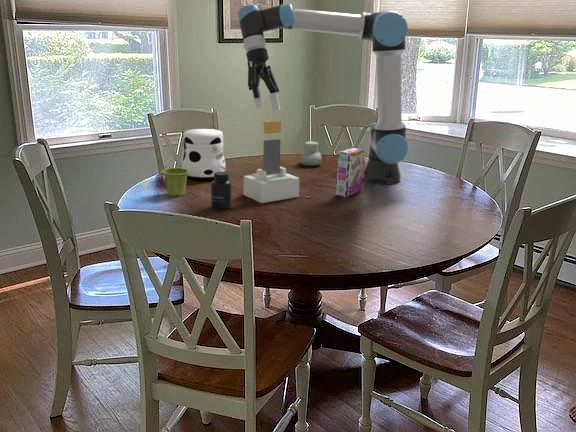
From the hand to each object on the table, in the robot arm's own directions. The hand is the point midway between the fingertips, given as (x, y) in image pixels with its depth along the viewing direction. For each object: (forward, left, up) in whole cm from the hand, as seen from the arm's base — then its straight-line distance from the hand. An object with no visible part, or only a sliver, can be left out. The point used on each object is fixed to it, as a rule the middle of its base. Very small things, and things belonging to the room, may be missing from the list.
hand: (268, 109), depth 210 cm
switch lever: (-4, +3, -22) cm, 22 cm away
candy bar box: (-26, -16, -31) cm, 43 cm away
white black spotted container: (+33, -5, -31) cm, 46 cm away
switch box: (-4, +3, -30) cm, 31 cm away
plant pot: (+25, +21, -31) cm, 45 cm away
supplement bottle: (+2, +25, -31) cm, 40 cm away
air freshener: (+8, -49, -31) cm, 58 cm away
